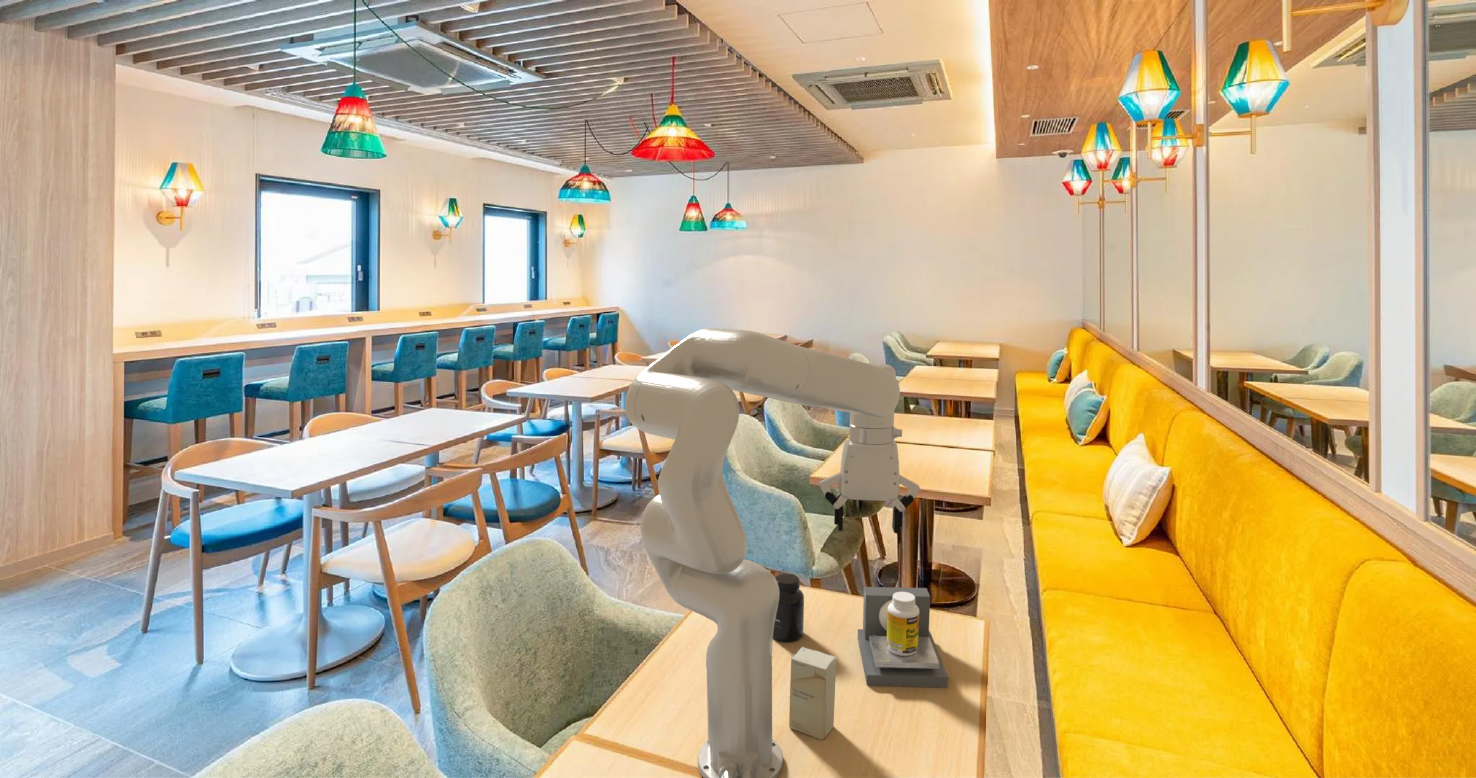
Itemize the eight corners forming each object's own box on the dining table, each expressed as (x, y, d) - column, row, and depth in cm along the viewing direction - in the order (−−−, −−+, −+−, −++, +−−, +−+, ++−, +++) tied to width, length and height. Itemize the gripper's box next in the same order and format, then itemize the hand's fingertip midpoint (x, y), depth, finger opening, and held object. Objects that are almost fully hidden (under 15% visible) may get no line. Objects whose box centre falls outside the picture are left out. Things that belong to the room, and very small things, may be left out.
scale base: (947, 687, 124) (950, 628, 123) (866, 685, 125) (868, 627, 123) (929, 640, 140) (931, 587, 138) (857, 638, 141) (858, 586, 139)
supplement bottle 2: (906, 660, 125) (908, 606, 123) (880, 649, 129) (881, 596, 127) (924, 649, 129) (926, 596, 127) (897, 637, 133) (899, 586, 131)
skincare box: (788, 728, 114) (788, 658, 112) (800, 713, 118) (801, 645, 116) (824, 741, 111) (825, 669, 109) (836, 725, 114) (837, 655, 112)
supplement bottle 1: (765, 640, 141) (765, 583, 139) (774, 623, 147) (774, 569, 145) (799, 645, 139) (800, 587, 137) (806, 628, 145) (807, 573, 143)
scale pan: (939, 673, 125) (939, 663, 124) (875, 672, 125) (875, 661, 125) (928, 646, 133) (929, 636, 133) (869, 645, 134) (869, 635, 134)
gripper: (918, 432, 127) (914, 524, 129) (820, 429, 128) (818, 520, 131) (925, 441, 119) (920, 539, 122) (821, 438, 121) (818, 534, 123)
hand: (867, 529), depth 126 cm, fingers open, 9 cm apart
